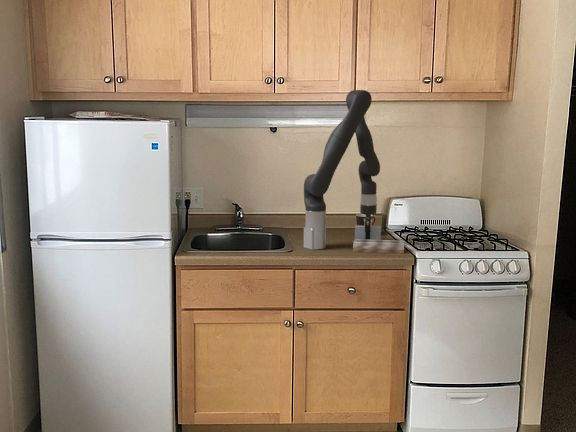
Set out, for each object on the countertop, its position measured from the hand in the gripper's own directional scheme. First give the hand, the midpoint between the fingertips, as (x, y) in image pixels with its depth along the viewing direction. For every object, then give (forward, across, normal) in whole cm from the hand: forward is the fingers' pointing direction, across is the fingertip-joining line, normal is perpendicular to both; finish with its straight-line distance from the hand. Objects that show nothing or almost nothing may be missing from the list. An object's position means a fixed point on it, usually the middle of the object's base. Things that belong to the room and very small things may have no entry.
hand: (367, 239), depth 271 cm
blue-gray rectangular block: (+2, 0, 0) cm, 2 cm away
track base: (+2, +15, +5) cm, 16 cm away
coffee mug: (+2, -20, -1) cm, 21 cm away
